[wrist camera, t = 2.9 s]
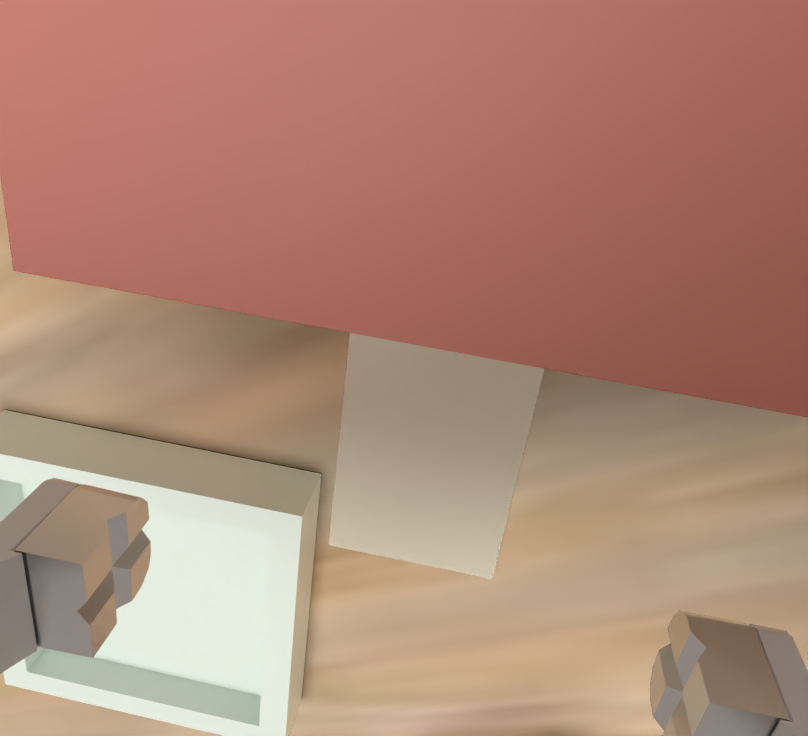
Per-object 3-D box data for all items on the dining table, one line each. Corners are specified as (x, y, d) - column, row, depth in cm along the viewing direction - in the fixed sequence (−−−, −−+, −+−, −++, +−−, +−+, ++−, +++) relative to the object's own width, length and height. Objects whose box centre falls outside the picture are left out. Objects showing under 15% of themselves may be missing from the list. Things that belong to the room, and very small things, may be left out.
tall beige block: (540, 249, 18) (546, 368, 12) (504, 411, 21) (493, 579, 15) (407, 227, 19) (348, 331, 13) (385, 389, 21) (327, 544, 15)
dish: (321, 474, 23) (301, 516, 21) (301, 698, 28) (284, 749, 26) (4, 409, 24) (-43, 445, 22) (40, 638, 29) (5, 684, 27)
